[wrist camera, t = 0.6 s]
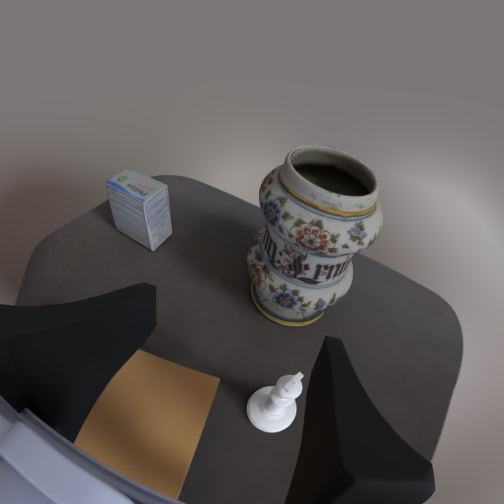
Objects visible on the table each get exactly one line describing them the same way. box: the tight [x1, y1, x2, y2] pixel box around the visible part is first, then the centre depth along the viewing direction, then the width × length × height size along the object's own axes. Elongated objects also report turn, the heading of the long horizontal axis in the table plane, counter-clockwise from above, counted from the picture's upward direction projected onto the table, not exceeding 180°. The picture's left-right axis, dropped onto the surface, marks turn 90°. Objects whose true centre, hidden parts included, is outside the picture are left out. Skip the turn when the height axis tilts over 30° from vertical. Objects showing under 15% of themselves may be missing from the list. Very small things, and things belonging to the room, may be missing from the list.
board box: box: [74, 349, 220, 500], centre depth 21 cm, size 17×17×4 cm
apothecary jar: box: [247, 144, 383, 326], centre depth 30 cm, size 12×12×18 cm
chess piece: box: [247, 372, 304, 432], centre depth 23 cm, size 5×5×10 cm
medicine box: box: [105, 168, 172, 251], centre depth 38 cm, size 8×4×9 cm, turn 60°
